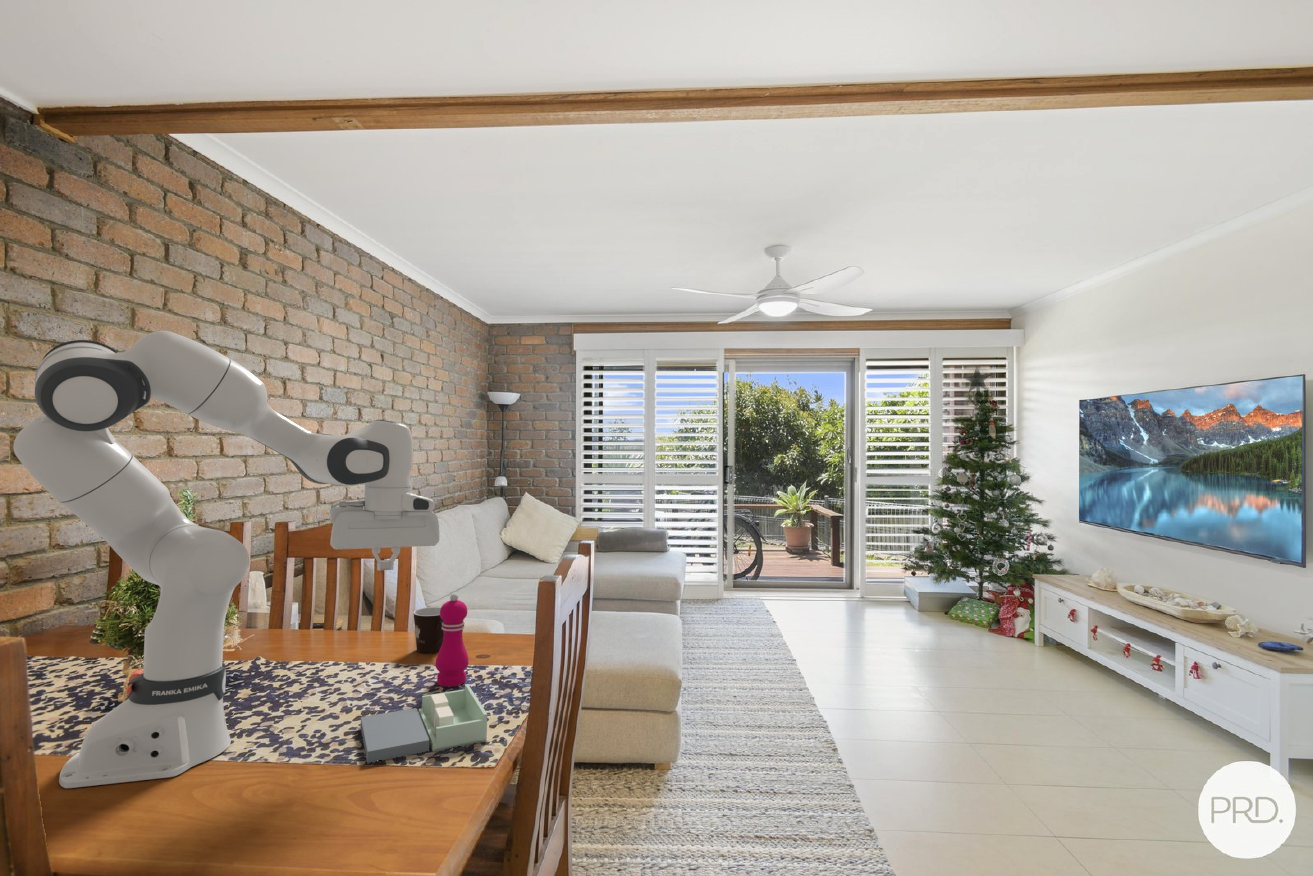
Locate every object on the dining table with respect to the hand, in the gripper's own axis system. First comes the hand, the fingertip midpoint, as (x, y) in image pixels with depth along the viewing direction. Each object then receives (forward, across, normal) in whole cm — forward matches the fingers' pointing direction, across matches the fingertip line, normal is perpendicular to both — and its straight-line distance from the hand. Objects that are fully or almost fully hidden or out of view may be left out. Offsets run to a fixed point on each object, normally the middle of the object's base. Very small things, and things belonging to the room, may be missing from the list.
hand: (385, 569), depth 130 cm
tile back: (+26, +8, -10) cm, 29 cm away
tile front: (+26, +8, -17) cm, 32 cm away
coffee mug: (+28, +15, +34) cm, 46 cm away
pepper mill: (+28, +16, +11) cm, 34 cm away
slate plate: (+29, +1, -13) cm, 32 cm away
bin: (+28, +12, -13) cm, 34 cm away
